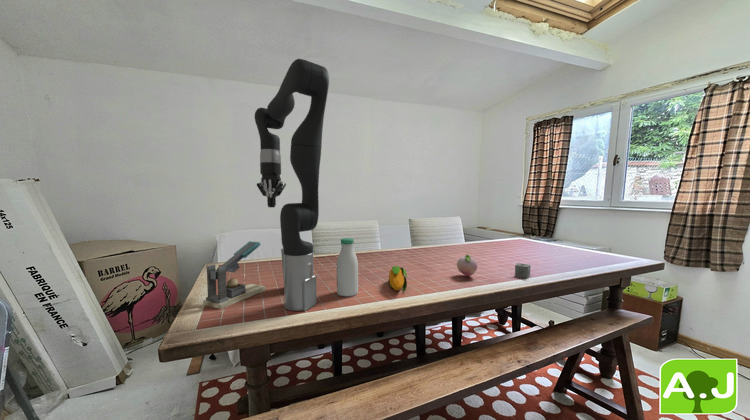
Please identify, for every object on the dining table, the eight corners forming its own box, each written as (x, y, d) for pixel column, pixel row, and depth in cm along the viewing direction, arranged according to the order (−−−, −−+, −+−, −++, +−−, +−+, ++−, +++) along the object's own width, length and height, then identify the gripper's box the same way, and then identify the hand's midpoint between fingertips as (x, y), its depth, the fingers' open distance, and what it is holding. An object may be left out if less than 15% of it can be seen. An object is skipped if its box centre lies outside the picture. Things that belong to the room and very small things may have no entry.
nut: (241, 287, 98) (240, 277, 98) (232, 290, 95) (231, 280, 95) (233, 286, 100) (233, 276, 99) (224, 289, 96) (224, 279, 96)
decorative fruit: (455, 273, 129) (455, 251, 128) (473, 273, 127) (474, 252, 127) (458, 279, 119) (458, 256, 119) (478, 280, 118) (479, 256, 118)
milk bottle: (362, 293, 103) (362, 238, 102) (346, 298, 97) (346, 241, 96) (348, 288, 108) (348, 236, 107) (332, 293, 102) (332, 238, 101)
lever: (259, 270, 105) (260, 242, 105) (218, 280, 89) (219, 246, 89) (249, 269, 107) (250, 241, 107) (207, 278, 91) (209, 245, 91)
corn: (405, 262, 118) (408, 275, 98) (406, 280, 118) (410, 297, 98) (387, 263, 118) (387, 277, 98) (388, 280, 119) (388, 298, 99)
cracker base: (265, 290, 106) (265, 256, 105) (220, 309, 89) (219, 269, 88) (249, 287, 109) (249, 254, 108) (203, 305, 92) (201, 266, 91)
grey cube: (530, 275, 125) (530, 264, 124) (527, 278, 121) (527, 267, 121) (517, 273, 128) (518, 263, 128) (514, 276, 124) (515, 265, 124)
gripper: (291, 162, 109) (291, 207, 110) (264, 164, 114) (265, 206, 115) (277, 160, 102) (278, 208, 103) (250, 162, 107) (251, 207, 108)
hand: (271, 207), depth 109 cm, fingers closed
